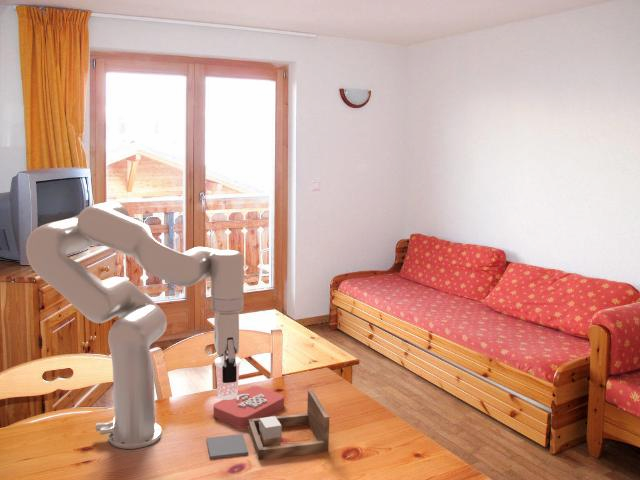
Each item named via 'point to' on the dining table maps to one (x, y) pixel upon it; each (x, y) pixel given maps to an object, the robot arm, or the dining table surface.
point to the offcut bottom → (270, 441)
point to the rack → (313, 417)
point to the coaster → (227, 446)
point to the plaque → (248, 406)
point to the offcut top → (270, 427)
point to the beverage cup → (226, 389)
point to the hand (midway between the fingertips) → (227, 375)
